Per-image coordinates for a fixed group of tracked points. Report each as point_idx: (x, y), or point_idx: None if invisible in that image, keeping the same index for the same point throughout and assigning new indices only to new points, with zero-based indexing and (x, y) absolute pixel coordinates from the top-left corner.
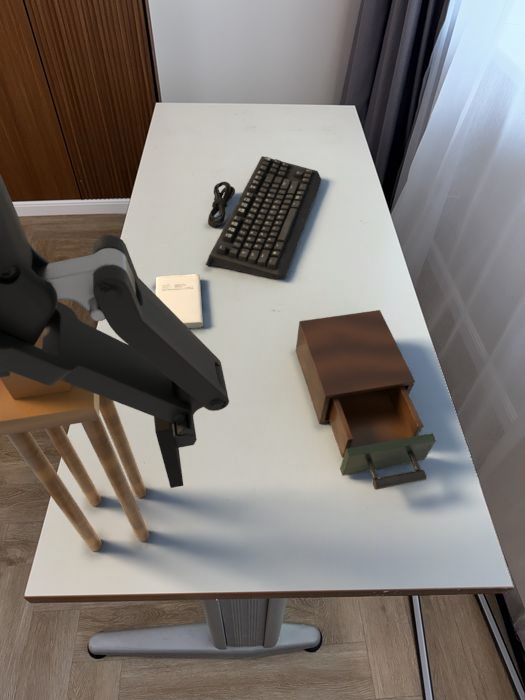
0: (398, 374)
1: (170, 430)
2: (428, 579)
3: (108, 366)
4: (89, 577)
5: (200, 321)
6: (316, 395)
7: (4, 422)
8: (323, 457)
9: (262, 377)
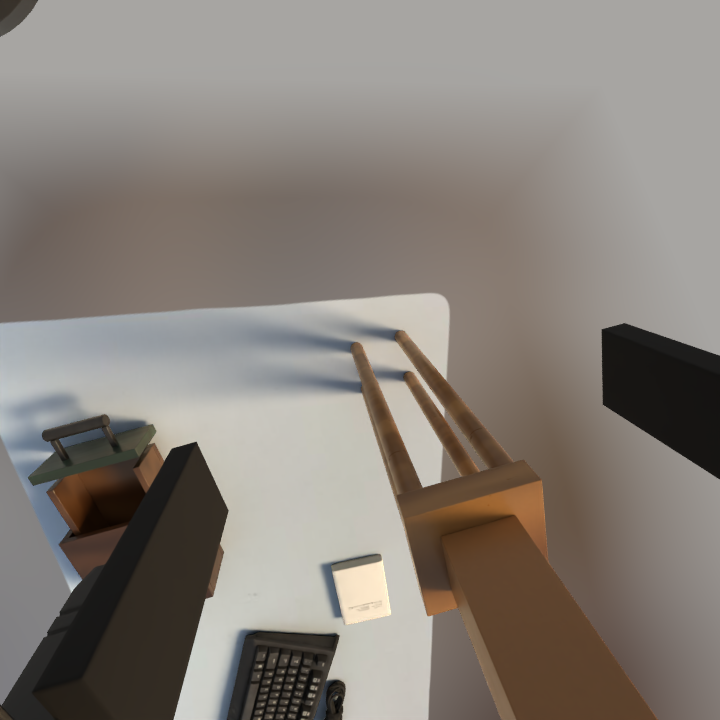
0: (81, 550)
1: (36, 686)
2: (45, 325)
3: None
4: (400, 307)
5: (334, 572)
6: None
7: (520, 483)
8: (178, 440)
9: (257, 518)
